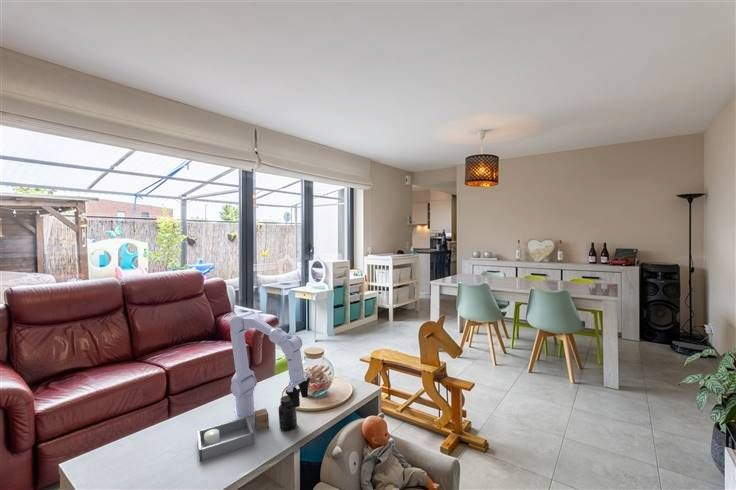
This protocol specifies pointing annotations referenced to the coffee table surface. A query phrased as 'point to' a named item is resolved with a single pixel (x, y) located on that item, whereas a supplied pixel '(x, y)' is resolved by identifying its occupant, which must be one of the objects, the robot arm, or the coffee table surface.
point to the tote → (226, 438)
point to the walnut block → (261, 419)
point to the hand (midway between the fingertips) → (301, 401)
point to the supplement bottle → (287, 414)
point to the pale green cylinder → (211, 437)
